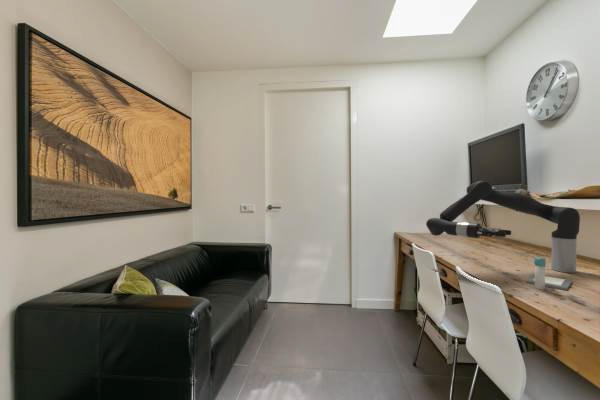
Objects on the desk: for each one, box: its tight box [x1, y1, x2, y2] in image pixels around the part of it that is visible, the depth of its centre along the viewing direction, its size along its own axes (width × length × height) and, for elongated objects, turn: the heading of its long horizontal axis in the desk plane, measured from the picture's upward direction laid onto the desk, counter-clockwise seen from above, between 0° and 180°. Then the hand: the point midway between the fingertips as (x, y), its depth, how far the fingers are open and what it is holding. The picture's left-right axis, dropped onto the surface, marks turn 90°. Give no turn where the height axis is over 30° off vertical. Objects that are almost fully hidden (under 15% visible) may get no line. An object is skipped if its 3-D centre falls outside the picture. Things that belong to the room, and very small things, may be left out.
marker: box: [533, 256, 547, 291], centre depth 111 cm, size 4×4×13 cm
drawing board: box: [525, 273, 573, 291], centre depth 118 cm, size 16×13×1 cm
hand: (508, 233), depth 119 cm, fingers open, 8 cm apart
